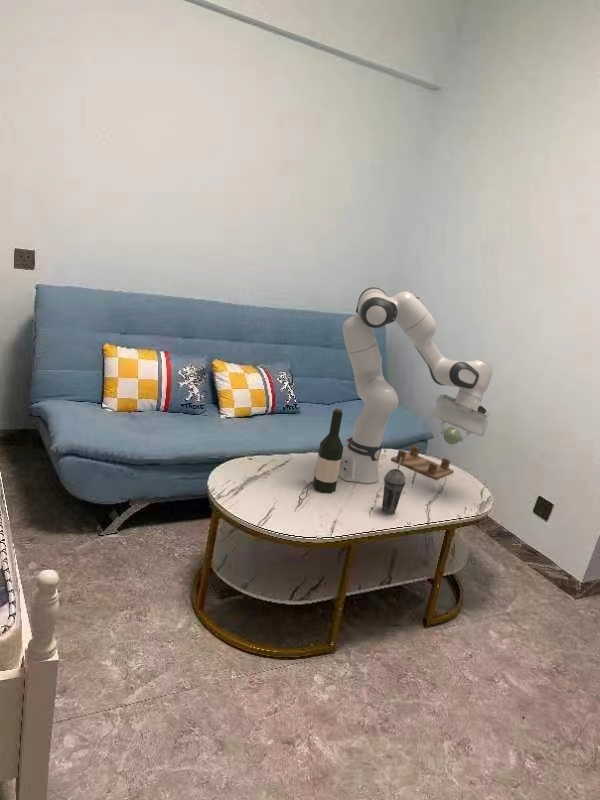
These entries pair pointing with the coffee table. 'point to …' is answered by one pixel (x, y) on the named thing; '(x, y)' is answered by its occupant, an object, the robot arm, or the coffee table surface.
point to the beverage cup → (392, 490)
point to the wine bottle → (329, 457)
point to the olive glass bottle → (452, 436)
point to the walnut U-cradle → (423, 464)
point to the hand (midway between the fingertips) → (451, 437)
